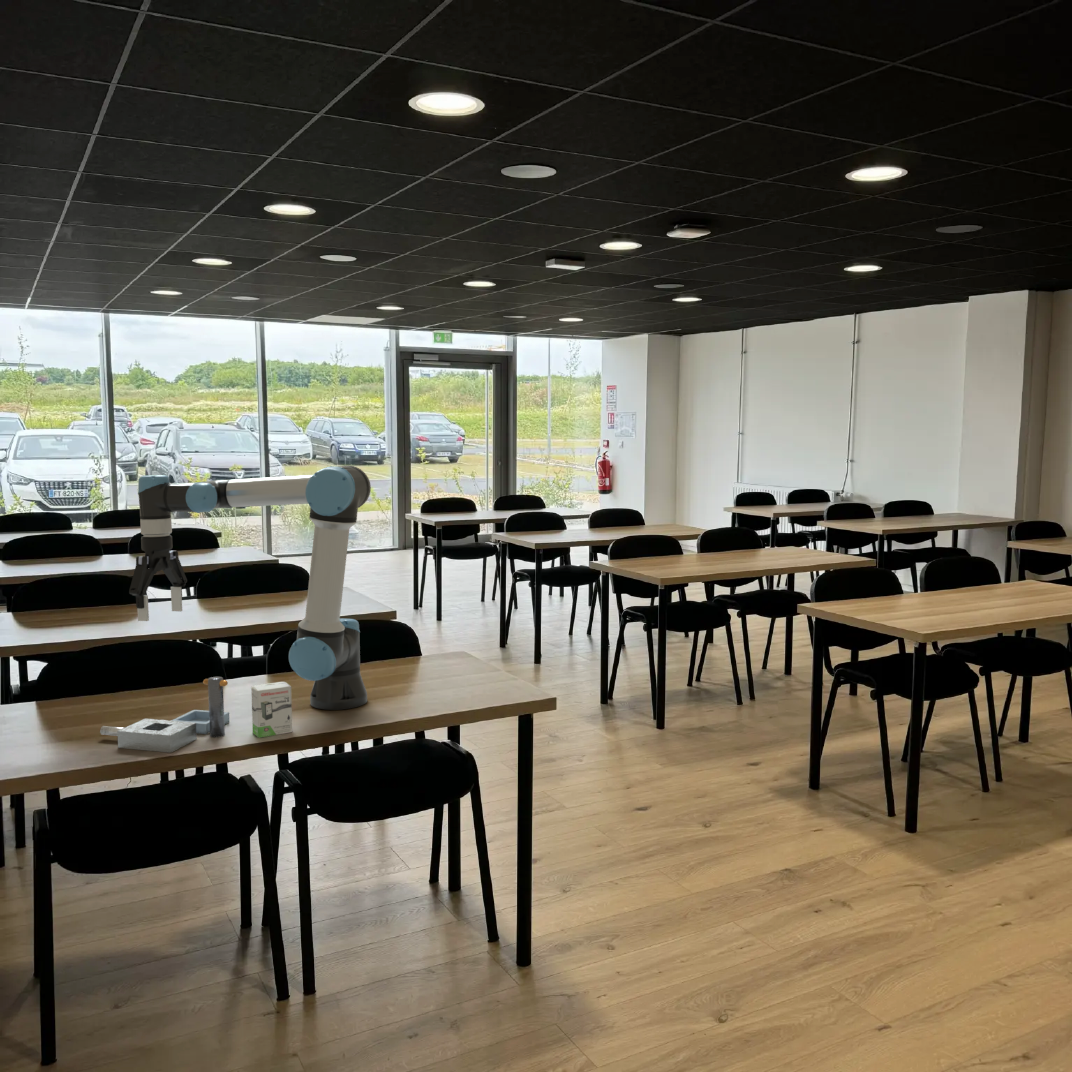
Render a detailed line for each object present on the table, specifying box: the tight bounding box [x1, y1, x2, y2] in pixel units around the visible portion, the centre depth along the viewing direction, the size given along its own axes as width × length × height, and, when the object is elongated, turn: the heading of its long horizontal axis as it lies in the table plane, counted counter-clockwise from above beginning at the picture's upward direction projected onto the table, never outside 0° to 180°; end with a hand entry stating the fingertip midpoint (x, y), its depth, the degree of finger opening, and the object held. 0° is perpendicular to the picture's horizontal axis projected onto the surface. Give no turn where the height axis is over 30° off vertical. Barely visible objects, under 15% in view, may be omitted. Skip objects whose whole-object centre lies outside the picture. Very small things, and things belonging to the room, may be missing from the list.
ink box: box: [250, 681, 293, 739], centre depth 232 cm, size 9×5×12 cm, turn 123°
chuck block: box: [99, 718, 198, 754], centre depth 225 cm, size 22×10×4 cm, turn 76°
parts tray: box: [170, 709, 230, 735], centre depth 237 cm, size 10×10×2 cm
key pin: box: [202, 676, 229, 738], centre depth 230 cm, size 6×3×14 cm, turn 76°
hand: (160, 615), depth 249 cm, fingers open, 13 cm apart
